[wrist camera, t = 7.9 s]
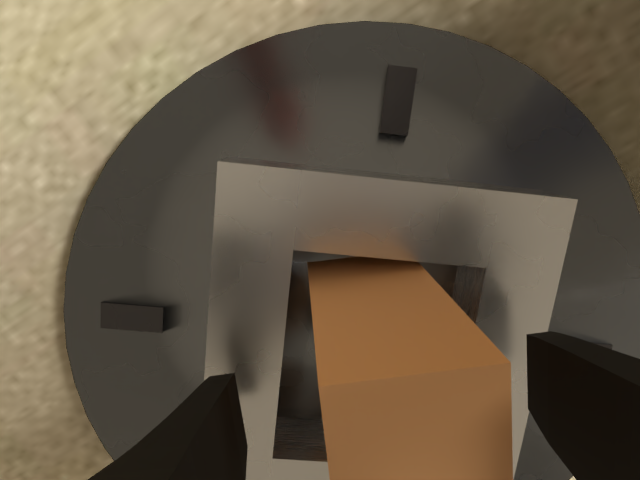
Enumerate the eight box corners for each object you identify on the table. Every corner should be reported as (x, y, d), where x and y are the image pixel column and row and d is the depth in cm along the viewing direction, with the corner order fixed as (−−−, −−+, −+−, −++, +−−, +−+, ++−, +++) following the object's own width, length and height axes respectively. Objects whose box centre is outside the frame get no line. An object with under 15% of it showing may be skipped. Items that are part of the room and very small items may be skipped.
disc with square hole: (704, 67, 14) (794, 54, 12) (567, 569, 18) (612, 641, 15) (71, -16, 13) (15, -51, 10) (74, 546, 17) (34, 621, 14)
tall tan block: (407, 250, 14) (511, 362, 7) (415, 372, 15) (514, 571, 8) (307, 262, 14) (318, 386, 7) (321, 383, 15) (343, 594, 8)
